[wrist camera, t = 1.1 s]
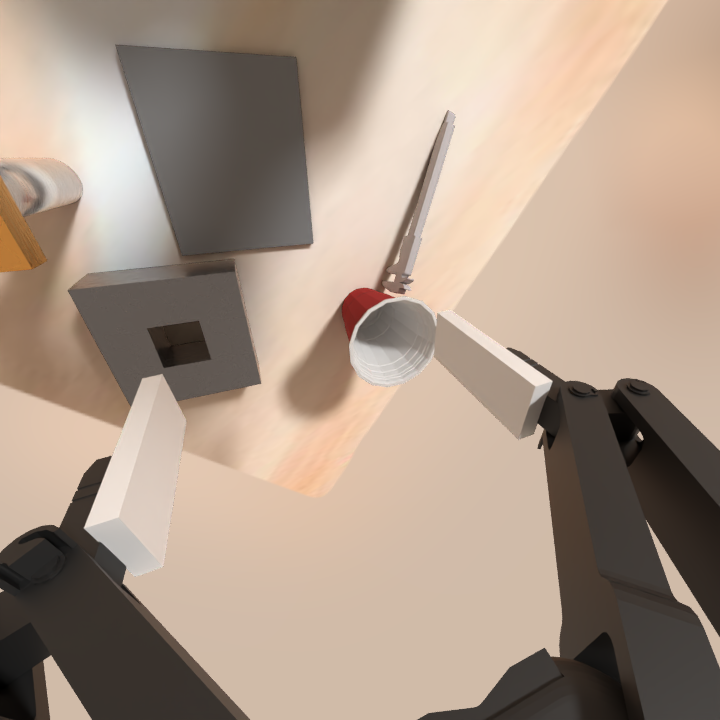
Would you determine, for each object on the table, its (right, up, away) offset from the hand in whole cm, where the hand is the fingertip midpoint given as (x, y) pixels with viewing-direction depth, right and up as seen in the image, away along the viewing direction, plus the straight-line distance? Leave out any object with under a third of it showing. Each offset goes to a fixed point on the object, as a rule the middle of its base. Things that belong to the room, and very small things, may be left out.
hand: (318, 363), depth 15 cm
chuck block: (-19, +4, +22) cm, 29 cm away
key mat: (-10, +20, +16) cm, 27 cm away
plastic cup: (+2, +8, +29) cm, 30 cm away
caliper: (+9, +19, +24) cm, 32 cm away
